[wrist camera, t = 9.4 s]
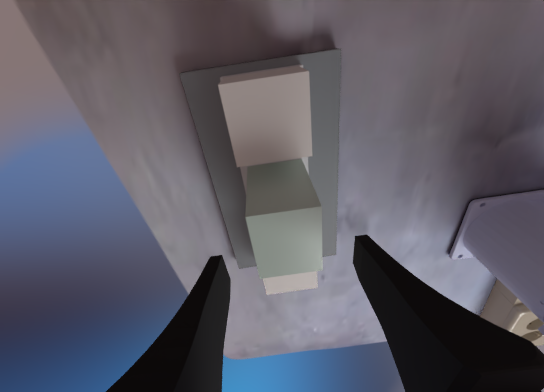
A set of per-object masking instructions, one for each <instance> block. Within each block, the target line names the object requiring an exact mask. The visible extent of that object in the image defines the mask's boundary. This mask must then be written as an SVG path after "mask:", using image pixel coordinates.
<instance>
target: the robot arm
mask: <svg viewBox="0 0 544 392" xmlns="http://www.w3.org/2000/svg"><path fill="white" fill-rule="evenodd" d="M449 257H450V258H451V259H452V260H457V259H464V258H471V257H475V258H476V259H478V260H479V261H480V262H481V263H482V264H483V265H484V266H485V267H486V268H487V269H488V270H489V271H490V272H491V273H492V274H493V275H494V276H495V277H496V278H497V279H498V280H499V281H500V282H501V283H502V284H503V285H505V286H506V287H507V288H508V289H509V290H510V291H511V292H512V293H513V294H514V295H515V296H516V297H517V298H518V299H519V300H520V301H521V302H522V303H523V304H524V305H525V306H526V307H527V308H528V309H529V310H530V311H532V312H533V313H534V314H535V315H536V316H537V317H538V318H539V319H540V320H541V321H542V322H543V323H544V190H538V191H531V192H524V193H517V194H510V195H503V196H496V197H489V198H482V199H476V200H473V201H471V202H470V204H469V206H468V209H467V211H466V214H465V216H464V219H463V222H462V224H461V227H460V229H459V232H458V234H457V237H456V239H455V242H454V244H453V247H452V249H451V252H450V254H449ZM353 264H354V267H355V270H356V273H357V276H358V278H359V281H360V283H361V285H362V287H363V289H364V291H365V293H366V295H367V297H368V299H369V302H370V304H371V306H372V308H373V310H374V312H375V314H376V316H377V318H378V320H379V322H380V324H381V326H382V329H383V331H384V334H385V336H386V339H387V342H388V344H389V347H390V349H391V352H392V355H393V358H394V360H395V363H396V366H397V368H398V372H399V374H400V377H401V380H402V383H403V386H404V389H405V392H541V390H542V389H543V388H544V354H543V353H542V352H541V351H540V350H539V349H538V348H537V347H536V346H535V345H534V344H533V343H532V342H531V341H529V340H527V339H525V338H523V337H521V336H519V335H516V334H514V333H512V332H510V331H508V330H506V329H504V328H501V327H499V326H497V325H495V324H493V323H491V322H489V321H487V320H486V319H484V318H482V317H480V316H478V315H476V314H474V313H472V312H471V311H469V310H467V309H465V308H464V307H462V306H460V305H458V304H457V303H455V302H453V301H452V300H450V299H448V298H447V297H445V296H443V295H442V294H440V293H439V292H437V291H436V290H434V289H433V288H431V287H430V286H428V285H427V284H425V283H424V282H422V281H421V280H420V279H418V278H417V277H416V276H414V275H413V274H412V273H410V272H409V271H408V270H407V269H405V268H404V267H403V266H402V265H400V264H399V263H398V262H397V261H396V260H395V259H393V258H392V257H391V256H390V255H389V254H388V253H386V252H385V251H384V250H383V249H382V248H381V247H380V246H379V245H378V244H376V243H375V242H374V241H373V240H372V239H371V238H370V237H369V236H368V235H361V236H355V244H354V256H353ZM229 303H230V277H229V274H228V271H227V268H226V265H225V262H224V260H223V257H222V255H219V256H212V257H210V258H209V260H208V262H207V264H206V266H205V268H204V270H203V271H202V273H201V275H200V277H199V279H198V280H197V282H196V284H195V285H194V287H193V289H192V290H191V292H190V294H189V295H188V297H187V298H186V300H185V301H184V303H183V304H182V306H181V307H180V309H179V310H178V312H177V313H176V315H175V316H174V317H173V319H172V320H171V321H170V323H169V324H168V325H167V327H166V328H165V329H164V330H163V332H162V333H161V334H160V335H159V337H158V338H157V339H156V340H155V341H154V343H153V344H152V345H151V346H150V347H149V348H148V350H147V351H146V352H145V353H144V354H143V355H142V356H141V357H140V358H139V359H138V360H137V361H136V362H135V364H134V365H133V366H132V367H131V368H130V369H129V370H128V371H127V372H126V373H125V374H124V375H123V376H122V377H121V378H120V379H119V380H118V381H117V382H116V383H114V384H113V385H112V386H111V387H110V388H109V389H108V390H107V391H106V392H222V365H223V349H224V339H225V332H226V325H227V318H228V310H229ZM538 330H539V331H540V332H541V333H542V334H543V335H544V324H543V325H542V326H541V327H539V328H538Z"/></svg>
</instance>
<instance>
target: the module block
mask: <svg viewBox="0 0 544 392" xmlns="http://www.w3.org/2000/svg"><path fill="white" fill-rule="evenodd" d="M245 218H246V222H247V226H248V231H249V235H250V239H251V243H252V248H253V252H254V256H255V260H256V265H257V269H258V273H259V277H260V279H263V278H270V277H277V276H284V275H292V274H299V273H306V272H313V271H321V270H323V266H322V206H321V203H320V201H319V199H318V196H317V194H316V191H315V189H314V187H313V184H312V182H311V180H310V177H309V175H308V172H307V170H306V168H305V165H304V163H303V161H302V159H298V160H291V161H284V162H277V163H270V164H263V165H256V166H249V167H247V190H246V213H245Z"/></svg>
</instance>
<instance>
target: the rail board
mask: <svg viewBox="0 0 544 392" xmlns="http://www.w3.org/2000/svg"><path fill="white" fill-rule="evenodd" d="M179 75H180V78H181V81H182V85H183V88H184V91H185V94H186V98H187V101H188V104H189V107H190V111H191V114H192V117H193V120H194V124H195V127H196V130H197V133H198V137H199V140H200V143H201V146H202V150H203V153H204V156H205V159H206V163H207V166H208V169H209V172H210V176H211V179H212V182H213V185H214V189H215V192H216V195H217V199H218V202H219V205H220V208H221V212H222V215H223V218H224V221H225V225H226V228H227V231H228V234H229V238H230V241H231V244H232V247H233V251H234V254H235V257H236V260H237V264H238V267H239V269H241V268H248V267H255V266H257V265H256V260H255V256H254V252H253V248H252V243H251V239H250V235H249V231H248V226H247V222H246V218H245V213H246V190H247V167H249V166H256V165H263V164H270V163H277V162H284V161H291V160H298V159H302V161H303V163H304V165H305V168H306V170H307V172H308V175H309V177H310V180H311V182H312V184H313V187H314V189H315V191H316V194H317V196H318V199H319V201H320V203H321V206H322V257H325V256H332V255H336V238H337V198H338V158H339V118H340V78H341V49H337V48H336V49H330V50H323V51H317V52H310V53H304V54H297V55H291V56H284V57H278V58H271V59H265V60H258V61H252V62H245V63H239V64H232V65H226V66H219V67H213V68H206V69H200V70H193V71H187V72H182V73H180V74H179ZM263 281H264V285H265V290H266V294H267V295H270V294H277V293H284V292H292V291H299V290H306V289H313V288H318V283H317V271H313V272H306V273H299V274H292V275H284V276H277V277H270V278H263Z"/></svg>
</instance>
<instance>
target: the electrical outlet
mask: <svg viewBox="0 0 544 392" xmlns="http://www.w3.org/2000/svg"><path fill="white" fill-rule="evenodd" d="M480 317H482V318H484V319H486V320H487V321H489V322H491V323H493V324H495V325H497V326H499V327H501V328H504V329H506V330H508V331H510V332H512V333H514V334H516V335H519V336H521V337H523V338H525V339H527V340H529V341H531V342H532V343H533V344H534V345H535V346H540V345H544V335H543V334H542V333H541V332H540V331H539V330H538V328H539V327H541V326H542V325H543V324H544V323H543V322H542V321H541V320H540V319H539V318H538V317H537V316H536V315H535V314H534V313H533V312H532V311H530V310H529V309H528V308H527V307H526V306H525V305H524V304H523V303H522V302H521V301H520V300H519V299H518V298H517V297H516V296H515V295H514V294H513V293H512V292H511V291H510V290H509V289H508V288H507V287H506V286H505V285H503V284H502V283H501V282H500V281H499V280H498V279H497V280H496V282H495V284H494V287H493V289H492V291H491V293H490V295H489V298H488V300H487V302H486V304H485V306H484V309H483V311H482V313H481V315H480Z"/></svg>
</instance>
